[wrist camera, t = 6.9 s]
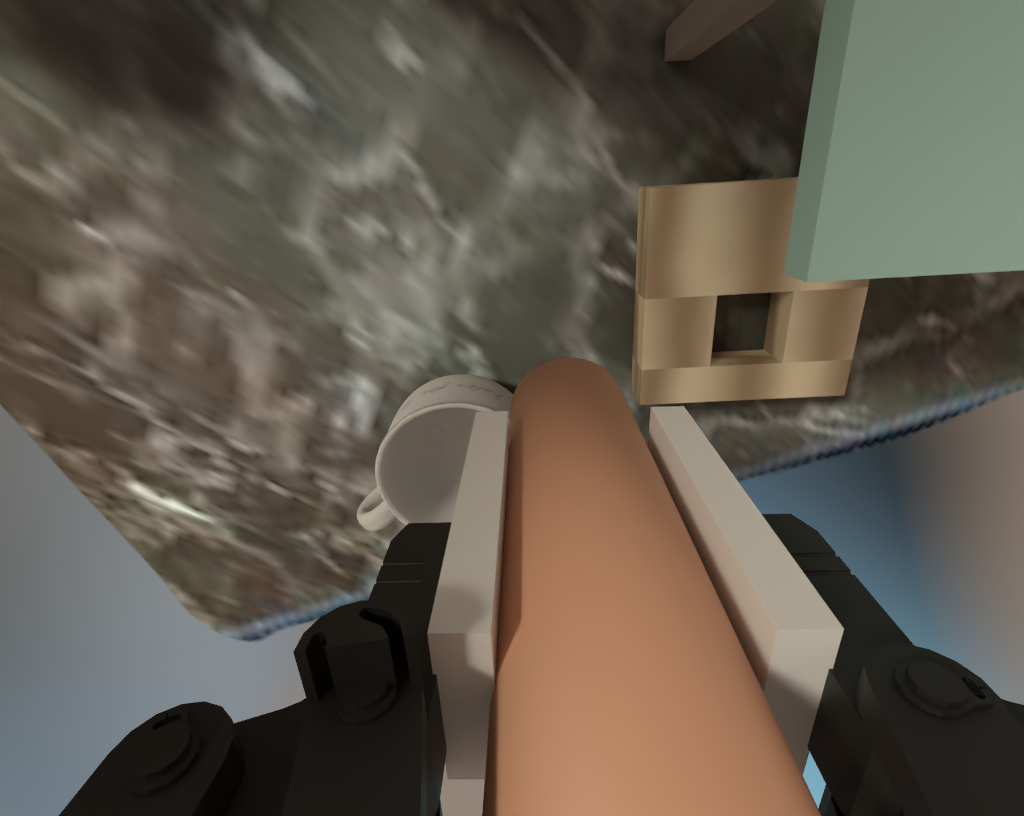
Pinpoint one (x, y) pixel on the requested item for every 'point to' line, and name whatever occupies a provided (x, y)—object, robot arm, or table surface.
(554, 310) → the table surface
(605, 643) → the peg
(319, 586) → the table surface
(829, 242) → the green-topped stool
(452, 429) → the teacup
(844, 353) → the socket block
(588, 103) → the table surface
